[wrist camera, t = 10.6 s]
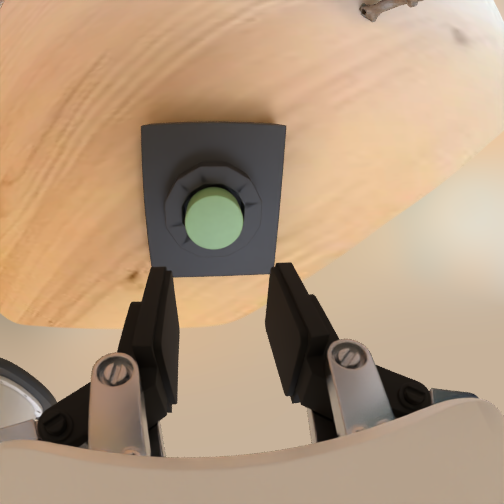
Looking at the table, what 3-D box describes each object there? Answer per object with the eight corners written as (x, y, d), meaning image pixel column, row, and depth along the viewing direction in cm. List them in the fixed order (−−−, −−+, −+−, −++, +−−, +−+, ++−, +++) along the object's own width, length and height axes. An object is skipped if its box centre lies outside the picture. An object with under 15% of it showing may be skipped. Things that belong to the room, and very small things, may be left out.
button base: (265, 255, 26) (278, 286, 22) (158, 259, 25) (149, 290, 20) (275, 123, 21) (294, 126, 17) (149, 123, 19) (134, 126, 15)
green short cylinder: (238, 236, 20) (242, 249, 18) (187, 237, 19) (186, 250, 18) (240, 186, 18) (244, 195, 17) (185, 187, 18) (183, 196, 16)
